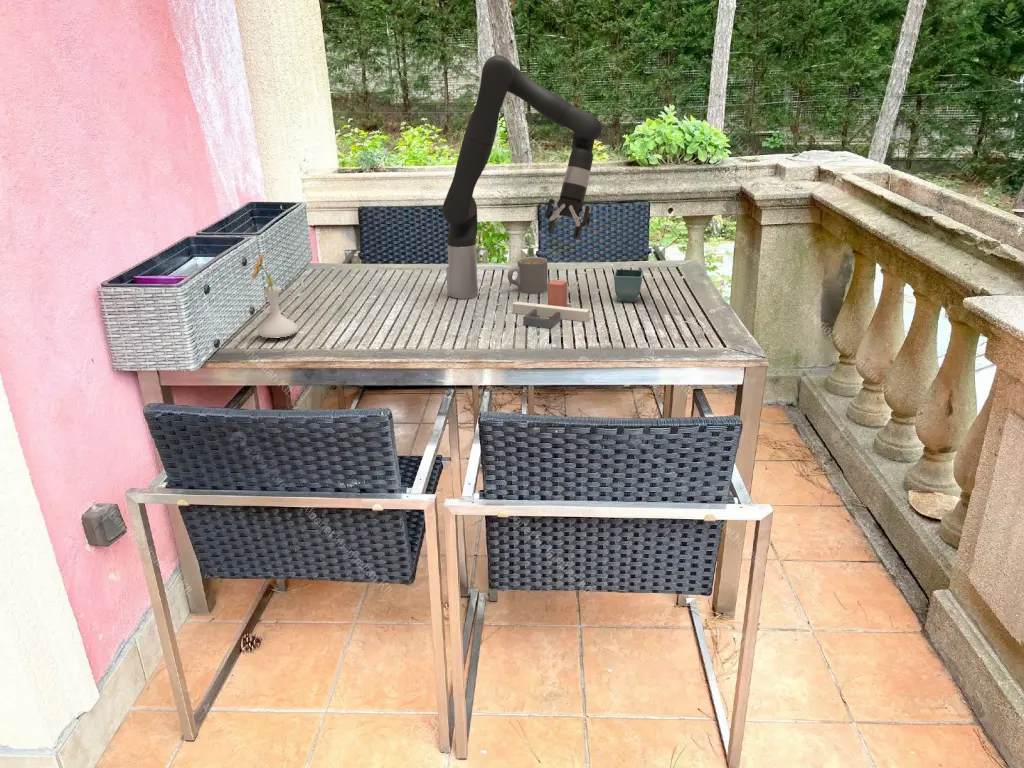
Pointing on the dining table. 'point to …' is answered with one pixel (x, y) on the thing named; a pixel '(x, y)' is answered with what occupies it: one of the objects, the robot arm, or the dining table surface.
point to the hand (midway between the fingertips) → (562, 236)
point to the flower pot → (627, 284)
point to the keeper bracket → (540, 320)
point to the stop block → (557, 293)
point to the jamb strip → (552, 311)
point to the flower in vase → (273, 309)
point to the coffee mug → (530, 275)
